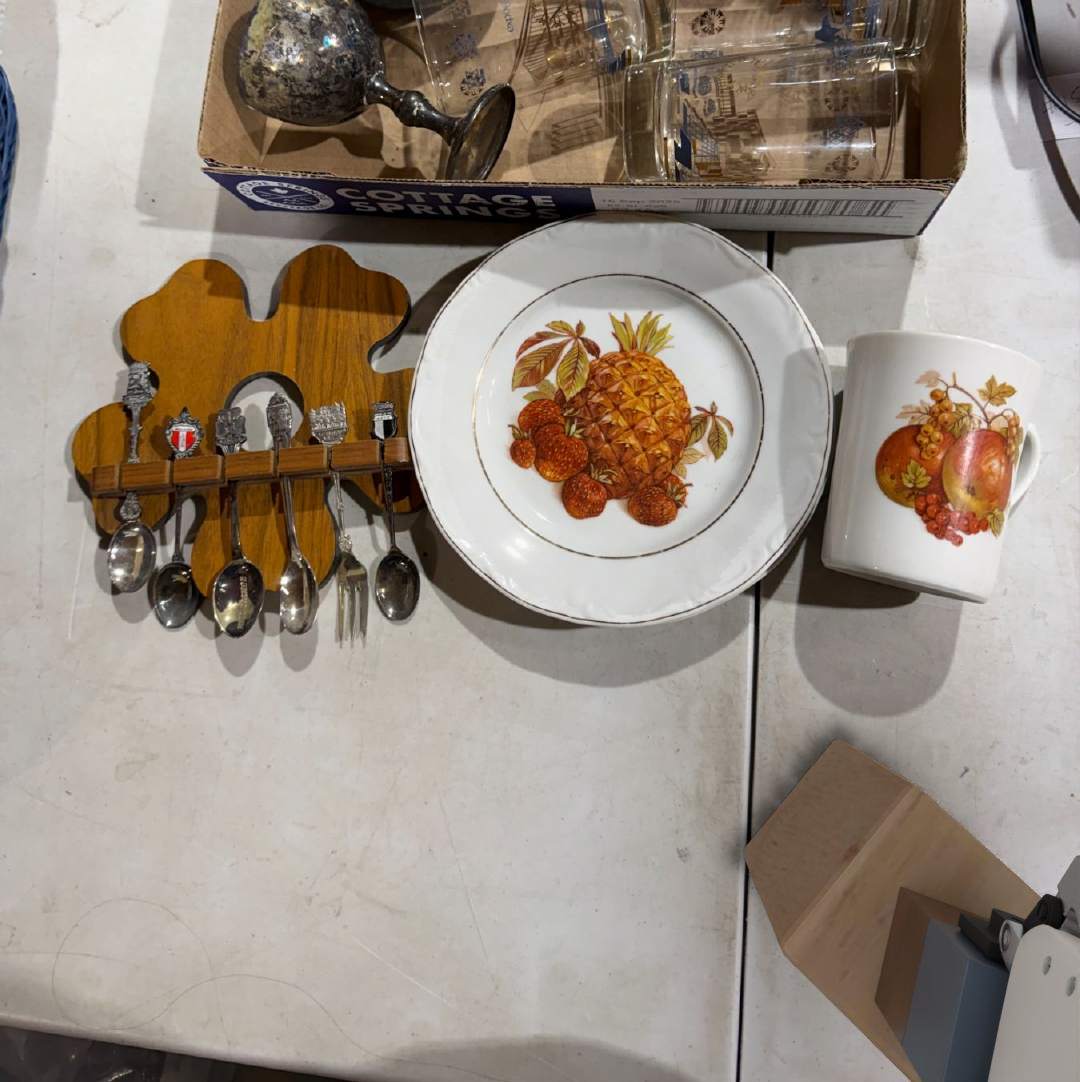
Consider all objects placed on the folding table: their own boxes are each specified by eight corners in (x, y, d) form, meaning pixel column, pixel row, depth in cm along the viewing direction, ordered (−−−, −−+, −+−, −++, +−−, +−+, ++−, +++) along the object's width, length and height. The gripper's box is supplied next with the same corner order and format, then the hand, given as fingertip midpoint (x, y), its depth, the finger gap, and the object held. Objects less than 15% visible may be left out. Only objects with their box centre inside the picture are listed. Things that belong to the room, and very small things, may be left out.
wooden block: (738, 852, 64) (776, 950, 45) (836, 734, 65) (913, 781, 46) (862, 973, 62) (958, 1131, 43) (961, 848, 63) (1098, 948, 44)
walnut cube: (987, 1046, 43) (1029, 1099, 38) (873, 1001, 44) (901, 1048, 39) (1011, 927, 44) (1055, 964, 40) (899, 886, 45) (929, 917, 40)
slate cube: (1030, 1100, 38) (1084, 1168, 33) (901, 1048, 39) (936, 1108, 34) (1056, 964, 39) (1112, 1012, 34) (929, 917, 40) (967, 957, 35)
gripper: (1386, 1907, 19) (1034, 1292, 37) (1481, 979, 23) (1120, 823, 40) (990, 1704, 20) (833, 1205, 38) (1139, 859, 24) (933, 759, 41)
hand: (982, 1010), depth 39 cm, fingers closed on slate cube, 5 cm apart
